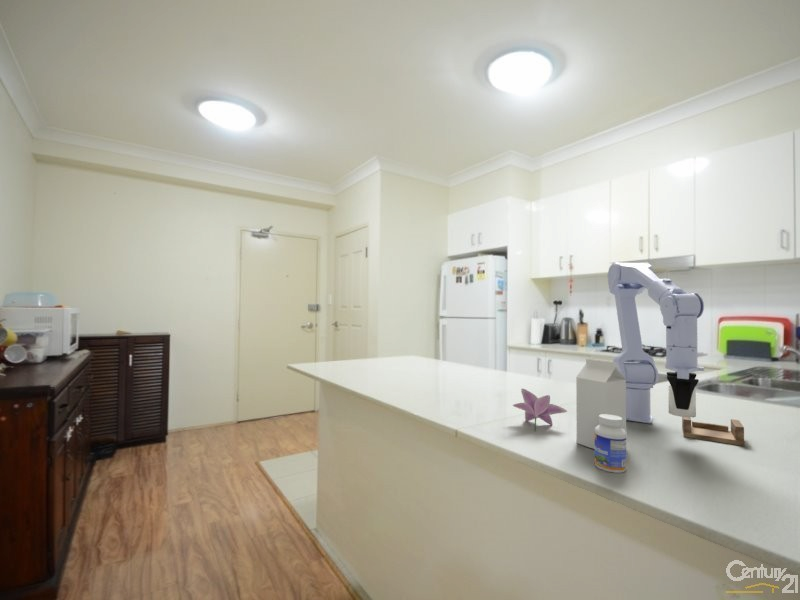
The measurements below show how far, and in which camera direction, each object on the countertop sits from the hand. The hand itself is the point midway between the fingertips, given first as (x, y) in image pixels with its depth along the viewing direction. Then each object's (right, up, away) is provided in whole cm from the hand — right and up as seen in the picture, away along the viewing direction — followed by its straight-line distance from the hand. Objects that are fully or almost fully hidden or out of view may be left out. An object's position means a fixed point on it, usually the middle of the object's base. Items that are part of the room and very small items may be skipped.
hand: (681, 406), depth 87 cm
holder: (+11, -9, +5) cm, 15 cm away
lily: (-28, -9, +12) cm, 32 cm away
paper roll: (0, -2, 0) cm, 2 cm away
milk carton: (-19, -9, -2) cm, 21 cm away
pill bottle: (-23, -8, -13) cm, 28 cm away
